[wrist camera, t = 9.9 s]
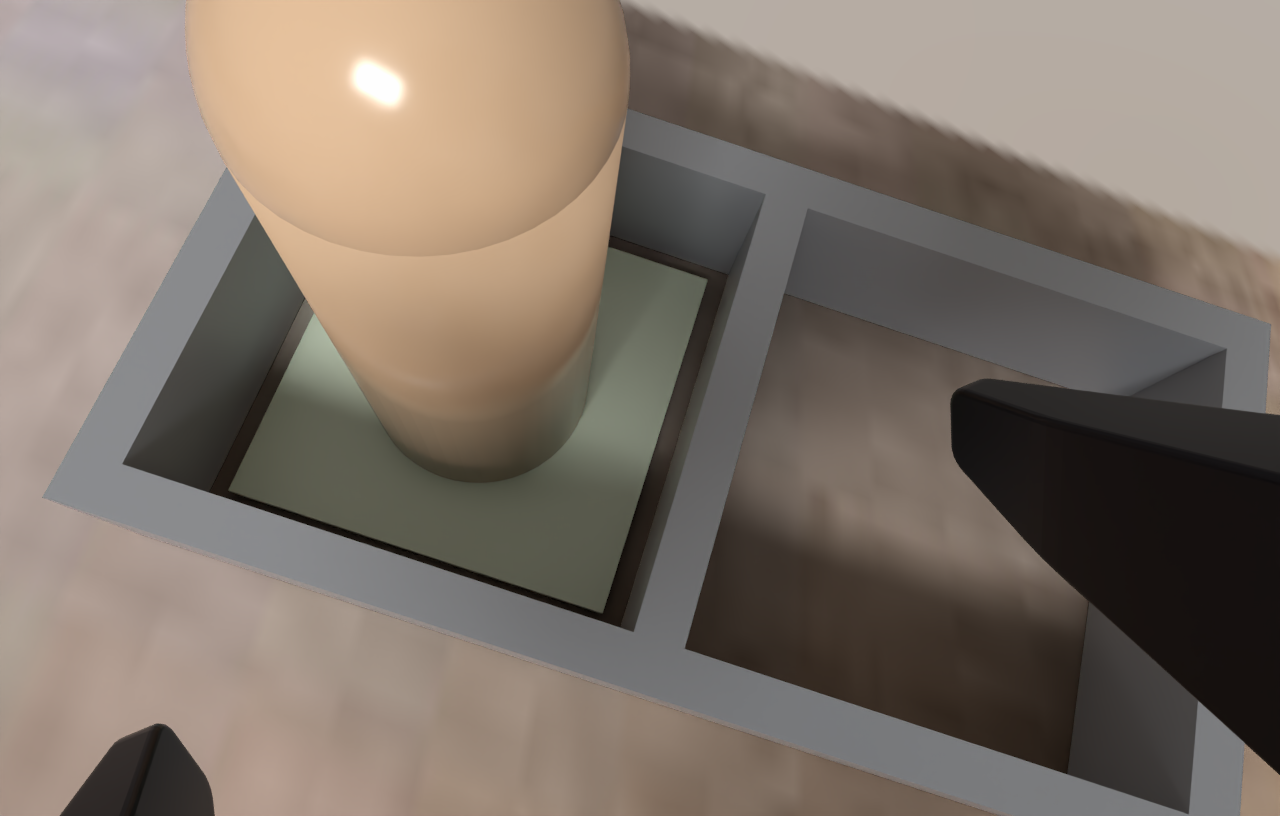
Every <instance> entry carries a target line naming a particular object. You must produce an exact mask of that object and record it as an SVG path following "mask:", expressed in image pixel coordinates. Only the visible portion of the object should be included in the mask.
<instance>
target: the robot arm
mask: <svg viewBox="0 0 1280 816" xmlns="http://www.w3.org/2000/svg"><path fill="white" fill-rule="evenodd" d="M950 405H951V442H952V451H953V455H954V458H955V460H956V462H957V463H958V465H959V467H960V468H961V469H962V470H963V472H964V473H965V474H966V475H967V476H968V477H969V478H970V479H971V480H972V482H973V483H974V484H975V485H976V486H977V487H978V488H979V489H980V490H981V492H982V493H983V494H984V495H985V496H986V497H987V498H988V499H989V501H990V502H991V503H992V504H993V505H994V506H995V507H996V508H997V509H998V511H999V512H1000V513H1001V514H1002V515H1003V516H1004V517H1005V518H1006V520H1007V521H1008V522H1009V523H1010V524H1011V525H1012V526H1013V527H1014V528H1015V530H1016V531H1017V532H1018V533H1019V534H1020V535H1021V536H1022V537H1023V539H1024V540H1025V541H1026V542H1027V543H1028V544H1029V545H1030V546H1031V547H1032V548H1033V549H1034V550H1035V551H1036V552H1037V553H1038V554H1039V555H1040V557H1041V558H1042V559H1044V560H1045V561H1046V562H1047V563H1048V564H1049V565H1050V566H1051V567H1052V568H1053V569H1054V570H1055V571H1056V572H1057V573H1058V574H1059V575H1060V576H1062V577H1063V578H1064V579H1065V580H1066V581H1067V582H1068V583H1069V584H1070V585H1071V586H1073V587H1074V588H1075V589H1076V590H1077V591H1078V592H1079V593H1080V594H1081V595H1082V596H1084V597H1085V598H1086V599H1087V600H1088V601H1089V602H1090V603H1091V604H1092V605H1093V606H1095V607H1096V608H1097V609H1098V610H1099V611H1100V612H1101V613H1102V614H1103V615H1104V616H1106V617H1107V618H1108V619H1109V620H1110V621H1111V622H1112V623H1113V624H1114V625H1115V626H1117V627H1118V628H1119V629H1120V630H1121V631H1122V632H1123V633H1124V634H1125V635H1126V636H1127V637H1129V638H1130V639H1131V640H1132V641H1133V642H1134V643H1135V644H1136V645H1137V646H1138V647H1140V648H1141V649H1142V650H1143V651H1144V652H1145V653H1146V654H1147V655H1148V656H1149V657H1151V658H1152V659H1153V660H1154V661H1155V662H1156V663H1157V664H1158V665H1159V666H1160V667H1162V668H1163V669H1164V670H1165V671H1166V672H1167V673H1168V674H1169V675H1170V676H1171V677H1173V678H1174V679H1175V680H1176V681H1177V682H1178V683H1179V684H1180V685H1181V686H1182V687H1184V688H1185V689H1186V690H1187V691H1188V692H1189V693H1190V694H1191V695H1192V696H1193V697H1195V698H1196V699H1197V700H1198V701H1199V702H1200V703H1201V704H1202V705H1203V706H1204V707H1206V708H1207V709H1208V710H1209V711H1210V712H1211V713H1212V714H1213V715H1214V716H1215V717H1217V718H1218V719H1219V720H1220V721H1221V722H1222V723H1223V724H1224V725H1225V726H1226V727H1228V728H1229V729H1230V730H1231V731H1232V732H1233V733H1234V734H1235V735H1236V736H1237V737H1239V738H1240V739H1241V740H1242V741H1243V742H1244V743H1245V744H1246V745H1247V746H1248V747H1250V748H1251V749H1252V750H1253V751H1254V752H1255V753H1256V754H1257V755H1258V756H1259V757H1261V758H1262V759H1263V760H1264V761H1265V762H1266V763H1267V764H1268V765H1269V766H1270V767H1272V768H1273V769H1274V770H1275V771H1276V772H1277V773H1278V774H1279V775H1280V415H1274V414H1266V413H1258V412H1250V411H1242V410H1234V409H1226V408H1218V407H1210V406H1202V405H1194V404H1186V403H1178V402H1171V401H1163V400H1155V399H1147V398H1139V397H1131V396H1123V395H1115V394H1107V393H1099V392H1091V391H1083V390H1075V389H1067V388H1059V387H1051V386H1043V385H1035V384H1027V383H1019V382H1011V381H1003V380H995V379H981V380H978V381H976V382H973V383H971V384H968V385H966V386H964V387H961V388H959V389H957V390H956V391H955V392H954V393H953V395H952V398H951V404H950ZM60 816H215V814H214V804H213V797H212V792H211V788H210V785H209V782H208V780H207V778H206V776H205V774H204V773H203V771H202V770H201V769H200V767H199V766H198V765H197V763H196V762H195V760H194V759H193V758H192V756H191V755H190V753H189V752H188V751H187V749H186V748H185V747H184V745H183V744H182V742H181V741H180V740H179V738H178V737H177V736H176V734H175V733H174V732H173V730H172V729H171V728H169V727H168V726H167V725H165V724H154V725H152V726H149V727H147V728H144V729H142V730H140V731H137V732H135V733H132V734H130V735H128V736H125V737H123V738H121V739H119V740H118V741H116V742H115V743H114V744H113V746H112V747H111V748H110V749H109V750H108V752H107V753H106V754H105V756H104V757H103V758H102V760H101V761H100V762H99V764H98V765H97V766H96V768H95V769H94V771H93V772H92V773H91V775H90V776H89V777H88V779H87V780H86V781H85V783H84V784H83V785H82V787H81V788H80V789H79V791H78V792H77V793H76V795H75V796H74V797H73V799H72V800H71V801H70V803H69V804H68V805H67V807H66V808H65V809H64V811H63V812H62V813H61V815H60Z"/></svg>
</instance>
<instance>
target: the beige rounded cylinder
mask: <svg viewBox="0 0 1280 816" xmlns="http://www.w3.org/2000/svg"><path fill="white" fill-rule="evenodd" d="M185 41H186V54H187V61H188V68H189V75H190V79H191V83H192V87H193V90H194V94H195V98H196V101H197V104H198V107H199V110H200V113H201V116H202V119H203V121H204V123H205V126H206V128H207V130H208V132H209V134H210V136H211V138H212V140H213V142H214V144H215V146H216V148H217V150H218V152H219V154H220V156H221V158H222V160H223V161H224V163H225V165H226V166H227V168H228V170H229V171H230V173H231V175H232V176H233V178H234V180H235V181H236V183H237V185H238V186H239V188H240V190H241V191H242V193H243V195H244V196H245V198H246V200H247V201H248V203H249V205H250V206H251V208H252V210H253V211H254V213H255V215H256V216H257V218H258V220H259V221H260V223H261V225H262V226H263V228H264V230H265V231H266V233H267V235H268V236H269V238H270V240H271V241H272V243H273V245H274V246H275V248H276V250H277V251H278V253H279V255H280V256H281V258H282V260H283V261H284V263H285V265H286V266H287V268H288V270H289V271H290V273H291V275H292V277H293V278H294V280H295V282H296V283H297V285H298V287H299V288H300V290H301V292H302V293H303V295H304V297H305V298H306V300H307V302H308V303H309V305H310V307H311V308H312V310H313V312H314V313H315V315H316V317H317V318H318V320H319V322H320V323H321V325H322V327H323V328H324V330H325V332H326V333H327V335H328V337H329V338H330V340H331V342H332V343H333V345H334V347H335V348H336V350H337V352H338V353H339V355H340V357H341V358H342V360H343V362H344V363H345V365H346V367H347V368H348V370H349V372H350V373H351V375H352V377H353V378H354V380H355V382H356V383H357V385H358V387H359V388H360V390H361V392H362V393H363V395H364V397H365V398H366V400H367V402H368V403H369V405H370V407H371V408H372V410H373V412H374V413H375V415H376V417H377V418H378V420H379V422H380V423H381V425H382V427H383V428H384V430H385V432H386V433H387V435H388V436H389V438H390V439H391V440H392V442H393V443H394V445H395V446H396V447H397V448H398V449H399V450H400V451H401V452H402V453H403V454H404V455H405V456H406V457H408V458H409V459H410V460H411V461H413V462H414V463H415V464H417V465H418V466H420V467H422V468H423V469H425V470H427V471H429V472H431V473H434V474H436V475H438V476H441V477H444V478H448V479H451V480H455V481H462V482H469V483H486V482H495V481H501V480H505V479H510V478H513V477H516V476H519V475H521V474H524V473H527V472H528V471H530V470H532V469H534V468H536V467H538V466H540V465H541V464H542V463H544V462H545V461H547V460H548V459H550V458H551V457H552V456H553V455H554V454H555V453H556V452H557V451H558V450H560V449H561V447H562V446H563V445H564V444H565V443H566V441H567V440H568V439H569V438H570V436H571V435H572V433H573V432H574V430H575V428H576V427H577V425H578V423H579V420H580V418H581V416H582V413H583V410H584V407H585V403H586V398H587V392H588V385H589V378H590V371H591V364H592V357H593V350H594V342H595V335H596V328H597V321H598V314H599V307H600V300H601V293H602V285H603V278H604V271H605V264H606V257H607V250H608V243H609V236H610V229H611V221H612V214H613V207H614V200H615V193H616V186H617V179H618V172H619V164H620V157H621V150H622V143H623V136H624V129H625V122H626V115H627V107H628V100H629V89H630V51H629V44H628V37H627V31H626V25H625V19H624V12H623V9H622V6H621V3H620V0H186V7H185Z"/></svg>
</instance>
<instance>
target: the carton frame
mask: <svg viewBox="0 0 1280 816" xmlns="http://www.w3.org/2000/svg"><path fill="white" fill-rule="evenodd" d="M610 235H611V236H614V237H617V238H620V239H623V240H626V241H629V242H632V243H635V244H638V245H641V246H644V247H647V248H650V249H653V250H656V251H659V252H662V253H665V254H668V255H671V256H674V257H677V258H680V259H683V260H686V261H689V262H692V263H695V264H698V265H701V266H704V267H707V268H710V269H713V270H716V271H719V272H722V273H725V274H728V278H727V281H726V284H725V288H724V291H723V294H722V297H721V301H720V304H719V307H718V310H717V314H716V317H715V320H714V323H713V327H712V330H711V333H710V336H709V340H708V343H707V346H706V349H705V353H704V356H703V359H702V362H701V366H700V369H699V372H698V375H697V379H696V382H695V385H694V388H693V392H692V395H691V398H690V401H689V405H688V408H687V411H686V414H685V418H684V421H683V424H682V428H681V431H680V434H679V437H678V441H677V444H676V447H675V450H674V454H673V457H672V460H671V463H670V467H669V470H668V473H667V476H666V480H665V483H664V486H663V489H662V493H661V496H660V499H659V502H658V506H657V509H656V512H655V515H654V519H653V522H652V525H651V528H650V532H649V535H648V538H647V541H646V545H645V548H644V551H643V554H642V558H641V561H640V564H639V567H638V571H637V574H636V577H635V580H634V584H633V587H632V590H631V594H630V597H629V600H628V603H627V607H626V610H625V613H624V616H623V620H622V623H621V626H620V627H617V626H614V625H611V624H608V623H605V622H601V621H598V620H595V619H592V618H589V617H586V616H583V615H580V614H577V613H574V612H571V611H568V610H565V609H562V608H559V607H556V606H553V605H550V604H547V603H544V602H541V601H538V600H534V599H531V598H528V597H525V596H522V595H519V594H516V593H513V592H510V591H507V590H504V589H501V588H498V587H495V586H492V585H489V584H486V583H483V582H480V581H477V580H474V579H471V578H467V577H464V576H461V575H458V574H455V573H452V572H449V571H446V570H443V569H440V568H437V567H434V566H431V565H428V564H425V563H422V562H419V561H416V560H413V559H410V558H407V557H403V556H400V555H397V554H394V553H391V552H388V551H385V550H382V549H379V548H376V547H373V546H370V545H367V544H364V543H361V542H358V541H355V540H352V539H349V538H346V537H343V536H340V535H336V534H333V533H330V532H327V531H324V530H321V529H318V528H315V527H312V526H309V525H306V524H303V523H300V522H297V521H294V520H291V519H288V518H285V517H282V516H279V515H276V514H273V513H269V512H266V511H263V510H260V509H257V508H254V507H251V506H248V505H245V504H242V503H239V502H236V501H233V500H230V499H227V498H224V497H221V496H218V495H215V494H212V493H209V491H210V489H211V487H212V485H213V483H214V481H215V479H216V477H217V475H218V473H219V471H220V469H221V467H222V465H223V463H224V461H225V459H226V457H227V455H228V453H229V451H230V449H231V447H232V445H233V443H234V440H235V438H236V436H237V434H238V432H239V430H240V428H241V426H242V424H243V422H244V420H245V418H246V416H247V414H248V412H249V410H250V408H251V406H252V404H253V402H254V400H255V398H256V396H257V394H258V392H259V390H260V388H261V386H262V384H263V381H264V379H265V377H266V375H267V373H268V371H269V369H270V367H271V365H272V363H273V361H274V359H275V357H276V355H277V353H278V351H279V349H280V347H281V345H282V343H283V341H284V339H285V337H286V335H287V333H288V331H289V329H290V327H291V325H292V322H293V320H294V318H295V316H296V314H297V312H298V310H299V308H300V306H301V304H302V302H303V300H304V298H305V297H304V295H303V293H302V292H301V290H300V288H299V287H298V285H297V283H296V282H295V280H294V278H293V277H292V275H291V273H290V271H289V270H288V268H287V266H286V265H285V263H284V261H283V260H282V258H281V256H280V255H279V253H278V251H277V250H276V248H275V246H274V245H273V243H272V241H271V240H270V238H269V236H268V235H267V233H266V231H265V230H264V228H263V226H262V225H261V223H260V221H259V220H258V218H257V216H256V215H255V213H254V211H253V210H252V208H251V206H250V205H249V203H248V201H247V200H246V198H245V196H244V195H243V193H242V191H241V190H240V188H239V186H238V185H237V183H236V181H235V180H234V178H233V176H232V175H231V173H230V171H229V170H228V168H226V169H225V171H224V173H223V175H222V177H221V178H220V180H219V182H218V184H217V185H216V187H215V189H214V191H213V193H212V194H211V196H210V198H209V200H208V202H207V203H206V205H205V207H204V209H203V211H202V212H201V214H200V216H199V218H198V220H197V221H196V223H195V225H194V227H193V228H192V230H191V232H190V234H189V236H188V237H187V239H186V241H185V243H184V245H183V246H182V248H181V250H180V252H179V254H178V255H177V257H176V259H175V261H174V263H173V264H172V266H171V268H170V270H169V271H168V273H167V275H166V277H165V279H164V280H163V282H162V284H161V286H160V288H159V289H158V291H157V293H156V295H155V297H154V298H153V300H152V302H151V304H150V306H149V307H148V309H147V311H146V313H145V314H144V316H143V318H142V320H141V322H140V323H139V325H138V327H137V329H136V331H135V332H134V334H133V336H132V338H131V340H130V341H129V343H128V345H127V347H126V349H125V350H124V352H123V354H122V356H121V357H120V359H119V361H118V363H117V365H116V366H115V368H114V370H113V372H112V374H111V375H110V377H109V379H108V381H107V383H106V384H105V386H104V388H103V390H102V391H101V393H100V395H99V397H98V399H97V400H96V402H95V404H94V406H93V408H92V409H91V411H90V413H89V415H88V417H87V418H86V420H85V422H84V424H83V426H82V427H81V429H80V431H79V433H78V434H77V436H76V438H75V440H74V442H73V443H72V445H71V447H70V449H69V451H68V452H67V454H66V456H65V458H64V460H63V461H62V463H61V465H60V467H59V469H58V470H57V472H56V474H55V476H54V477H53V479H52V481H51V483H50V485H49V486H48V488H47V490H46V492H45V494H44V495H43V497H42V498H45V499H48V500H50V501H53V502H56V503H58V504H61V505H64V506H66V507H69V508H72V509H74V510H77V511H80V512H82V513H85V514H87V515H90V516H93V517H95V518H98V519H101V520H103V521H106V522H109V523H111V524H114V525H117V526H119V527H122V528H125V529H127V530H130V531H133V532H135V533H138V534H141V535H144V536H147V537H150V538H153V539H156V540H159V541H162V542H165V543H168V544H171V545H174V546H177V547H180V548H183V549H186V550H189V551H193V552H196V553H199V554H202V555H205V556H208V557H211V558H214V559H217V560H220V561H223V562H226V563H229V564H232V565H235V566H238V567H241V568H244V569H247V570H251V571H254V572H257V573H260V574H263V575H266V576H269V577H272V578H275V579H278V580H281V581H284V582H287V583H290V584H293V585H296V586H299V587H302V588H306V589H309V590H312V591H315V592H318V593H321V594H324V595H327V596H330V597H333V598H336V599H339V600H342V601H345V602H348V603H351V604H354V605H357V606H360V607H364V608H367V609H370V610H373V611H376V612H379V613H382V614H385V615H388V616H391V617H394V618H397V619H400V620H403V621H406V622H409V623H412V624H415V625H418V626H422V627H425V628H428V629H431V630H434V631H437V632H440V633H443V634H446V635H449V636H452V637H455V638H458V639H461V640H464V641H467V642H470V643H473V644H476V645H480V646H483V647H486V648H489V649H492V650H495V651H498V652H501V653H504V654H507V655H510V656H513V657H516V658H519V659H522V660H525V661H528V662H531V663H534V664H538V665H541V666H544V667H547V668H550V669H553V670H556V671H559V672H562V673H565V674H568V675H571V676H574V677H577V678H580V679H583V680H586V681H589V682H593V683H596V684H599V685H602V686H605V687H608V688H611V689H614V690H617V691H620V692H623V693H626V694H629V695H632V696H635V697H638V698H641V699H644V700H647V701H651V702H654V703H657V704H660V705H663V706H666V707H669V708H672V709H675V710H678V711H681V712H684V713H687V714H690V715H693V716H696V717H699V718H702V719H705V720H709V721H712V722H715V723H718V724H721V725H724V726H727V727H730V728H733V729H736V730H739V731H742V732H745V733H748V734H751V735H754V736H757V737H760V738H763V739H767V740H770V741H773V742H776V743H779V744H782V745H785V746H788V747H791V748H794V749H797V750H800V751H803V752H806V753H809V754H812V755H815V756H818V757H822V758H825V759H828V760H831V761H834V762H837V763H840V764H843V765H846V766H849V767H852V768H855V769H858V770H861V771H864V772H867V773H870V774H873V775H876V776H880V777H883V778H886V779H889V780H892V781H895V782H898V783H901V784H904V785H907V786H910V787H913V788H916V789H919V790H922V791H925V792H928V793H931V794H934V795H938V796H941V797H944V798H947V799H950V800H953V801H956V802H959V803H962V804H965V805H968V806H971V807H974V808H977V809H980V810H983V811H986V812H989V813H992V814H996V815H999V816H1240V806H1241V790H1242V774H1243V758H1244V742H1243V741H1242V740H1241V739H1240V738H1239V737H1237V736H1236V735H1235V734H1234V733H1233V732H1232V731H1231V730H1230V729H1229V728H1228V727H1226V726H1225V725H1224V724H1223V723H1222V722H1221V721H1220V720H1219V719H1218V718H1217V717H1215V716H1214V715H1213V714H1212V713H1211V712H1210V711H1209V710H1208V709H1207V708H1206V707H1204V706H1203V705H1202V704H1201V703H1200V702H1199V701H1198V700H1197V699H1196V698H1195V697H1193V696H1192V695H1191V694H1190V693H1189V692H1188V691H1187V690H1186V689H1185V688H1184V687H1182V686H1181V685H1180V684H1179V683H1178V682H1177V681H1176V680H1175V679H1174V678H1173V677H1171V676H1170V675H1169V674H1168V673H1167V672H1166V671H1165V670H1164V669H1163V668H1162V667H1160V666H1159V665H1158V664H1157V663H1156V662H1155V661H1154V660H1153V659H1152V658H1151V657H1149V656H1148V655H1147V654H1146V653H1145V652H1144V651H1143V650H1142V649H1141V648H1140V647H1138V646H1137V645H1136V644H1135V643H1134V642H1133V641H1132V640H1131V639H1130V638H1129V637H1127V636H1126V635H1125V634H1124V633H1123V632H1122V631H1121V630H1120V629H1119V628H1118V627H1117V626H1115V625H1114V624H1113V623H1112V622H1111V621H1110V620H1109V619H1108V618H1107V617H1106V616H1104V615H1103V614H1102V613H1101V612H1100V611H1099V610H1098V609H1097V608H1096V607H1095V606H1093V605H1092V604H1091V603H1090V602H1089V608H1088V616H1087V623H1086V631H1085V639H1084V647H1083V655H1082V663H1081V671H1080V678H1079V686H1078V694H1077V702H1076V710H1075V718H1074V726H1073V733H1072V741H1071V749H1070V757H1069V765H1068V773H1067V774H1064V773H1061V772H1058V771H1055V770H1052V769H1049V768H1046V767H1043V766H1040V765H1037V764H1034V763H1031V762H1028V761H1025V760H1022V759H1019V758H1016V757H1013V756H1010V755H1007V754H1003V753H1000V752H997V751H994V750H991V749H988V748H985V747H982V746H979V745H976V744H973V743H970V742H967V741H964V740H961V739H958V738H955V737H952V736H949V735H946V734H943V733H940V732H936V731H933V730H930V729H927V728H924V727H921V726H918V725H915V724H912V723H909V722H906V721H903V720H900V719H897V718H894V717H891V716H888V715H885V714H882V713H879V712H876V711H873V710H869V709H866V708H863V707H860V706H857V705H854V704H851V703H848V702H845V701H842V700H839V699H836V698H833V697H830V696H827V695H824V694H821V693H818V692H815V691H812V690H809V689H806V688H802V687H799V686H796V685H793V684H790V683H787V682H784V681H781V680H778V679H775V678H772V677H769V676H766V675H763V674H760V673H757V672H754V671H751V670H748V669H745V668H742V667H739V666H735V665H732V664H729V663H726V662H723V661H720V660H717V659H714V658H711V657H708V656H705V655H702V654H699V653H696V652H693V651H690V650H687V649H685V645H686V642H687V638H688V634H689V631H690V627H691V624H692V620H693V617H694V613H695V609H696V606H697V602H698V599H699V595H700V592H701V588H702V585H703V581H704V577H705V574H706V570H707V567H708V563H709V560H710V556H711V552H712V549H713V545H714V542H715V538H716V535H717V531H718V527H719V524H720V520H721V517H722V513H723V510H724V506H725V502H726V499H727V495H728V492H729V488H730V485H731V481H732V477H733V474H734V470H735V467H736V463H737V460H738V456H739V452H740V449H741V445H742V442H743V438H744V435H745V431H746V427H747V424H748V420H749V417H750V413H751V410H752V406H753V402H754V399H755V395H756V392H757V388H758V385H759V381H760V377H761V374H762V370H763V367H764V363H765V360H766V356H767V352H768V349H769V345H770V342H771V338H772V335H773V331H774V327H775V324H776V320H777V317H778V313H779V310H780V306H781V302H782V299H783V295H784V293H785V294H788V295H791V296H794V297H797V298H800V299H803V300H806V301H809V302H812V303H815V304H818V305H821V306H824V307H827V308H830V309H833V310H836V311H839V312H842V313H845V314H848V315H851V316H854V317H857V318H860V319H863V320H866V321H869V322H872V323H875V324H878V325H881V326H884V327H887V328H890V329H893V330H896V331H899V332H902V333H905V334H908V335H911V336H914V337H917V338H920V339H923V340H926V341H929V342H932V343H935V344H938V345H941V346H944V347H947V348H950V349H953V350H956V351H959V352H962V353H965V354H968V355H971V356H974V357H977V358H980V359H983V360H986V361H989V362H992V363H995V364H998V365H1001V366H1004V367H1007V368H1010V369H1013V370H1016V371H1019V372H1022V373H1025V374H1028V375H1031V376H1034V377H1037V378H1040V379H1043V380H1046V381H1049V382H1052V383H1055V384H1058V385H1061V386H1064V387H1067V388H1070V389H1075V390H1083V391H1091V392H1099V393H1107V394H1115V395H1123V396H1131V397H1139V398H1147V399H1155V400H1163V401H1171V402H1178V403H1186V404H1194V405H1202V406H1210V407H1218V408H1226V409H1234V410H1242V411H1250V412H1258V413H1265V411H1266V395H1267V380H1268V364H1269V348H1270V332H1271V324H1269V323H1266V322H1263V321H1260V320H1257V319H1254V318H1251V317H1248V316H1245V315H1242V314H1239V313H1236V312H1233V311H1230V310H1227V309H1224V308H1221V307H1218V306H1215V305H1212V304H1209V303H1206V302H1204V301H1201V300H1198V299H1195V298H1192V297H1189V296H1186V295H1183V294H1180V293H1177V292H1174V291H1171V290H1168V289H1165V288H1162V287H1159V286H1156V285H1153V284H1150V283H1147V282H1144V281H1141V280H1138V279H1135V278H1132V277H1129V276H1126V275H1123V274H1120V273H1117V272H1114V271H1111V270H1108V269H1105V268H1102V267H1099V266H1096V265H1093V264H1090V263H1087V262H1084V261H1081V260H1078V259H1075V258H1072V257H1069V256H1066V255H1063V254H1060V253H1057V252H1054V251H1051V250H1048V249H1045V248H1042V247H1039V246H1036V245H1033V244H1030V243H1027V242H1024V241H1021V240H1019V239H1016V238H1013V237H1010V236H1007V235H1004V234H1001V233H998V232H995V231H992V230H989V229H986V228H983V227H980V226H977V225H974V224H971V223H968V222H965V221H962V220H959V219H956V218H953V217H950V216H947V215H944V214H941V213H938V212H935V211H932V210H929V209H926V208H923V207H920V206H917V205H914V204H911V203H908V202H905V201H902V200H899V199H896V198H893V197H890V196H887V195H884V194H881V193H878V192H875V191H872V190H869V189H866V188H863V187H860V186H857V185H854V184H851V183H848V182H845V181H842V180H839V179H836V178H834V177H831V176H828V175H825V174H822V173H819V172H816V171H813V170H810V169H807V168H804V167H801V166H798V165H795V164H792V163H789V162H786V161H783V160H780V159H777V158H774V157H771V156H768V155H765V154H762V153H759V152H756V151H753V150H750V149H747V148H744V147H741V146H738V145H735V144H732V143H729V142H726V141H723V140H720V139H717V138H714V137H711V136H708V135H705V134H702V133H699V132H696V131H693V130H690V129H687V128H684V127H681V126H678V125H675V124H672V123H669V122H666V121H663V120H660V119H657V118H654V117H651V116H649V115H646V114H643V113H640V112H637V111H634V110H631V109H628V108H627V115H626V122H625V129H624V136H623V143H622V150H621V157H620V164H619V172H618V179H617V186H616V193H615V200H614V207H613V214H612V221H611V229H610ZM707 281H708V280H707V279H704V278H701V277H698V276H695V275H692V274H689V273H686V272H683V271H680V270H677V269H674V268H671V267H668V266H665V265H662V264H659V263H656V262H653V261H650V260H647V259H644V258H641V257H638V256H635V255H632V254H629V253H626V252H623V251H620V250H617V249H614V248H611V247H608V250H607V257H606V264H605V271H604V278H603V285H602V293H601V300H600V307H599V314H598V321H597V328H596V335H595V342H594V350H593V357H592V364H591V371H590V378H589V385H588V392H587V398H586V403H585V407H584V410H583V413H582V416H581V418H580V420H579V423H578V425H577V427H576V428H575V430H574V432H573V433H572V435H571V436H570V438H569V439H568V440H567V441H566V443H565V444H564V445H563V446H562V447H561V449H560V450H558V451H557V452H556V453H555V454H554V455H553V456H552V457H551V458H550V459H548V460H547V461H545V462H544V463H542V464H541V465H540V466H538V467H536V468H534V469H532V470H530V471H528V472H527V473H524V474H521V475H519V476H516V477H513V478H510V479H505V480H501V481H495V482H486V483H469V482H462V481H455V480H451V479H448V478H444V477H441V476H438V475H436V474H434V473H431V472H429V471H427V470H425V469H423V468H422V467H420V466H418V465H417V464H415V463H414V462H413V461H411V460H410V459H409V458H408V457H406V456H405V455H404V454H403V453H402V452H401V451H400V450H399V449H398V448H397V447H396V446H395V445H394V443H393V442H392V440H391V439H390V438H389V436H388V435H387V433H386V432H385V430H384V428H383V427H382V425H381V423H380V422H379V420H378V418H377V417H376V415H375V413H374V412H373V410H372V408H371V407H370V405H369V403H368V402H367V400H366V398H365V397H364V395H363V393H362V392H361V390H360V388H359V387H358V385H357V383H356V382H355V380H354V378H353V377H352V375H351V373H350V372H349V370H348V368H347V367H346V365H345V363H344V362H343V360H342V358H341V357H340V355H339V353H338V352H337V350H336V348H335V347H334V345H333V343H332V342H331V340H330V338H329V337H328V335H327V333H326V332H325V330H324V328H323V327H322V325H321V323H320V322H319V320H318V318H317V317H316V315H315V313H314V314H313V316H312V318H311V320H310V322H309V324H308V326H307V328H306V331H305V333H304V335H303V337H302V339H301V341H300V343H299V345H298V347H297V349H296V351H295V353H294V355H293V357H292V359H291V361H290V364H289V366H288V368H287V370H286V372H285V374H284V376H283V378H282V380H281V382H280V384H279V386H278V388H277V390H276V392H275V395H274V397H273V399H272V401H271V403H270V405H269V407H268V409H267V411H266V413H265V415H264V417H263V419H262V421H261V423H260V426H259V428H258V430H257V432H256V434H255V436H254V438H253V440H252V442H251V444H250V446H249V448H248V450H247V452H246V454H245V457H244V459H243V461H242V463H241V465H240V467H239V469H238V471H237V473H236V475H235V477H234V479H233V481H232V483H231V485H230V487H229V491H230V492H232V493H234V494H237V495H240V496H243V497H246V498H249V499H252V500H255V501H258V502H261V503H264V504H267V505H271V506H274V507H277V508H280V509H283V510H286V511H289V512H292V513H295V514H298V515H301V516H304V517H307V518H310V519H313V520H316V521H319V522H322V523H325V524H328V525H331V526H334V527H338V528H341V529H344V530H347V531H350V532H353V533H356V534H359V535H362V536H365V537H368V538H371V539H374V540H377V541H380V542H383V543H386V544H389V545H392V546H395V547H398V548H401V549H404V550H408V551H411V552H414V553H417V554H420V555H423V556H426V557H429V558H432V559H435V560H438V561H441V562H444V563H447V564H450V565H453V566H456V567H459V568H462V569H465V570H468V571H471V572H475V573H478V574H481V575H484V576H487V577H490V578H493V579H496V580H499V581H502V582H505V583H508V584H511V585H514V586H517V587H520V588H523V589H526V590H529V591H532V592H535V593H538V594H541V595H545V596H548V597H551V598H554V599H557V600H560V601H563V602H566V603H569V604H572V605H575V606H578V607H581V608H584V609H587V610H590V611H593V612H596V613H599V614H602V613H603V610H604V607H605V604H606V601H607V598H608V594H609V591H610V588H611V585H612V582H613V579H614V575H615V572H616V569H617V566H618V563H619V560H620V556H621V553H622V550H623V547H624V544H625V541H626V537H627V534H628V531H629V528H630V525H631V522H632V518H633V515H634V512H635V509H636V506H637V503H638V499H639V496H640V493H641V490H642V487H643V484H644V480H645V477H646V474H647V471H648V468H649V465H650V461H651V458H652V455H653V452H654V449H655V446H656V442H657V439H658V436H659V433H660V430H661V427H662V423H663V420H664V417H665V414H666V411H667V408H668V404H669V401H670V398H671V395H672V392H673V389H674V385H675V382H676V379H677V376H678V373H679V370H680V366H681V363H682V360H683V357H684V354H685V351H686V347H687V344H688V341H689V338H690V335H691V332H692V328H693V325H694V322H695V319H696V316H697V313H698V309H699V306H700V303H701V300H702V297H703V294H704V290H705V287H706V284H707Z"/></svg>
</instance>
